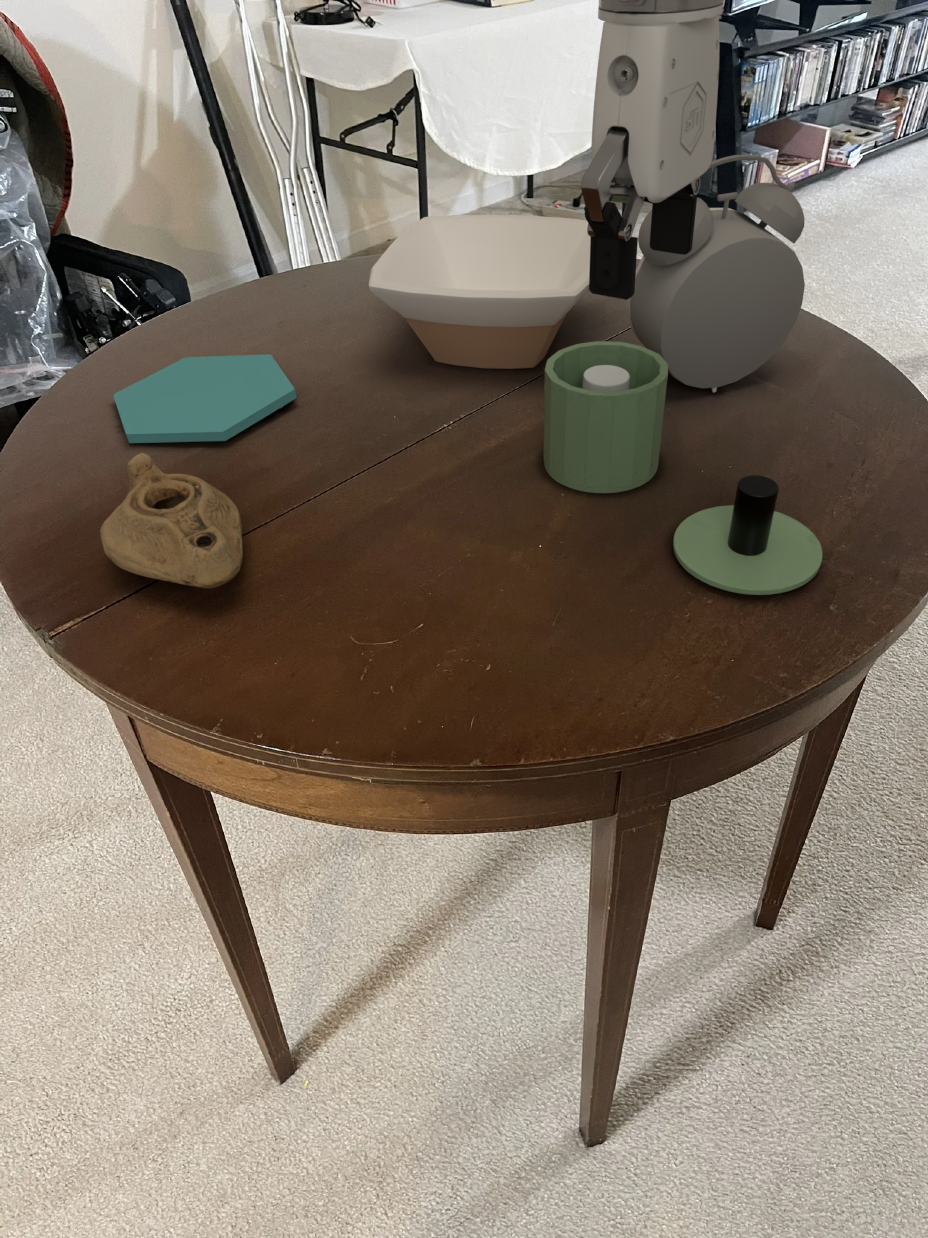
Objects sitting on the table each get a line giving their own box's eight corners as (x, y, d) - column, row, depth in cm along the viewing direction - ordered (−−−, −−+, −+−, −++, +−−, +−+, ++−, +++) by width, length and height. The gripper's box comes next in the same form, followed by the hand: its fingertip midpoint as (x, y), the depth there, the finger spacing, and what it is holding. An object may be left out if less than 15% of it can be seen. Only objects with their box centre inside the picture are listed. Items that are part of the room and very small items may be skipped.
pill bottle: (566, 453, 86) (568, 369, 81) (610, 441, 88) (616, 357, 82) (591, 477, 83) (595, 391, 78) (637, 465, 84) (644, 379, 79)
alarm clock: (750, 352, 102) (786, 132, 88) (795, 385, 96) (842, 154, 81) (613, 379, 98) (628, 154, 84) (651, 415, 92) (674, 179, 78)
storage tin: (576, 425, 91) (580, 332, 85) (675, 451, 87) (687, 355, 81) (523, 474, 85) (523, 377, 79) (627, 505, 80) (636, 405, 74)
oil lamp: (193, 638, 69) (166, 552, 64) (83, 564, 77) (52, 482, 72) (303, 568, 75) (286, 484, 70) (191, 506, 83) (169, 426, 78)
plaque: (84, 452, 93) (275, 450, 90) (77, 434, 92) (271, 431, 89) (149, 372, 106) (318, 368, 103) (144, 356, 105) (314, 351, 102)
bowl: (362, 386, 100) (350, 288, 93) (423, 298, 118) (417, 210, 111) (582, 401, 95) (586, 299, 88) (611, 307, 113) (616, 216, 106)
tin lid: (704, 502, 80) (714, 434, 76) (838, 540, 75) (856, 469, 71) (648, 572, 73) (656, 501, 69) (792, 619, 68) (810, 546, 64)
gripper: (658, 9, 49) (637, 324, 60) (772, -31, 60) (736, 242, 71) (535, 6, 52) (536, 305, 63) (663, -31, 63) (645, 230, 74)
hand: (642, 272), depth 67 cm, fingers open, 9 cm apart
